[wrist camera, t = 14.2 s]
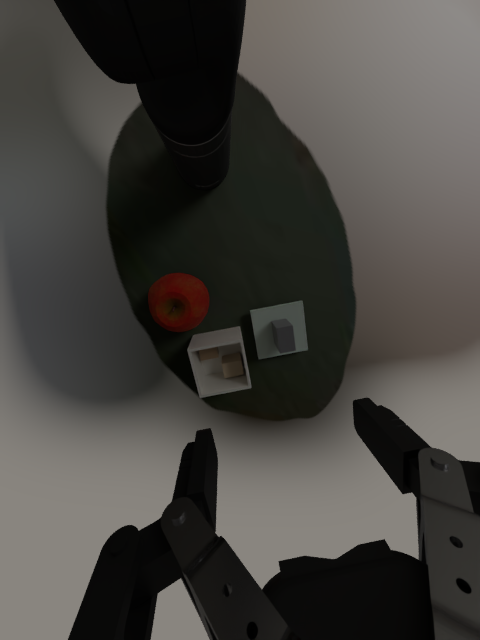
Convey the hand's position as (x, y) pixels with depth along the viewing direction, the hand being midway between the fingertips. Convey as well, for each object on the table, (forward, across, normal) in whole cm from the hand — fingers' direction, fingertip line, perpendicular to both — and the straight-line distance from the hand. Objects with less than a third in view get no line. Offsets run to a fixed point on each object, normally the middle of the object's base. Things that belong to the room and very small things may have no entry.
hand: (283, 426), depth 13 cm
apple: (+36, +11, -3) cm, 38 cm away
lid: (+36, -7, +7) cm, 37 cm away
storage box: (+36, +6, +10) cm, 38 cm away
